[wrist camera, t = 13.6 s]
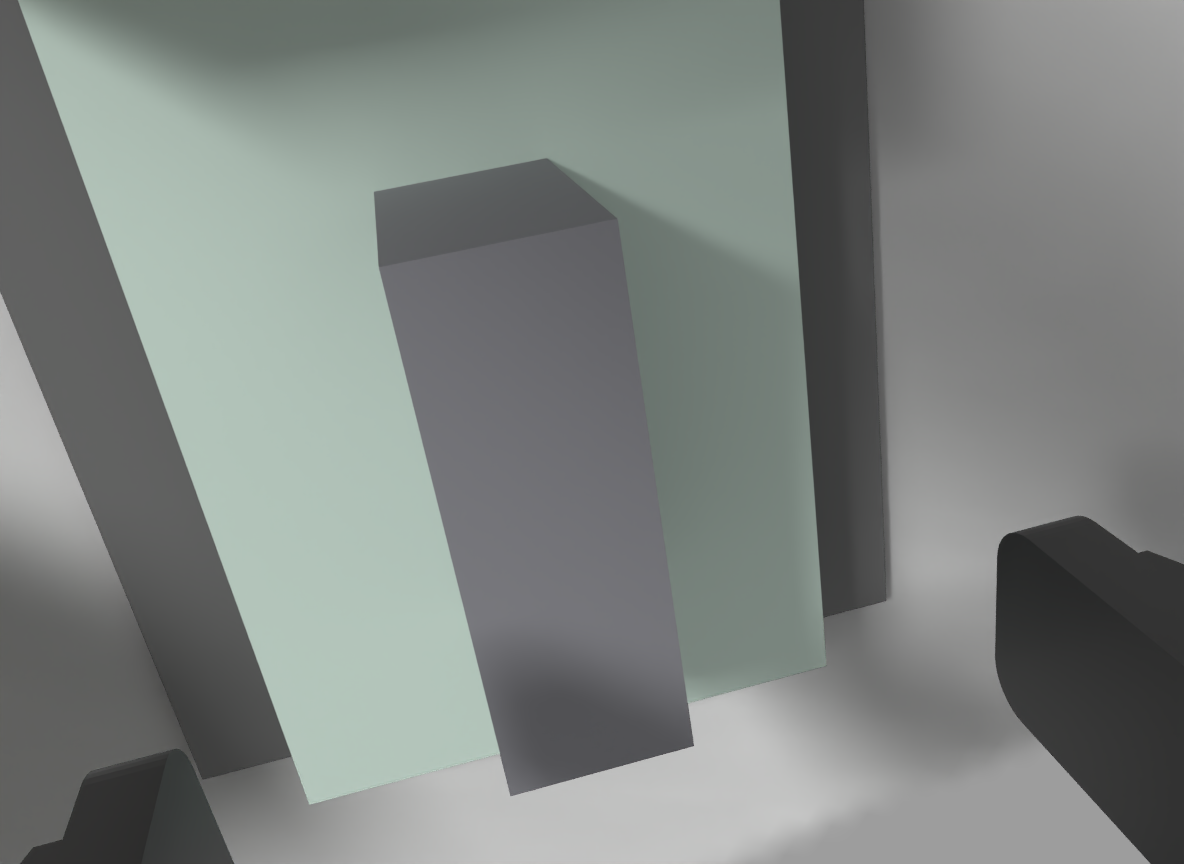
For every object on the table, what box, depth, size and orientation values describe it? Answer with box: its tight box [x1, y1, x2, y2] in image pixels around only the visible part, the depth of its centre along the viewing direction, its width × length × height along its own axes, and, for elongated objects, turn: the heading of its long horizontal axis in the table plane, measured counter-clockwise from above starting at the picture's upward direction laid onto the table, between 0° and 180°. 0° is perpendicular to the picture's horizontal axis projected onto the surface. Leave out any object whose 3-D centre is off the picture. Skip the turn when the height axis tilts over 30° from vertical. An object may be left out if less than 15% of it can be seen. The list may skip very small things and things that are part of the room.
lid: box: [18, 0, 826, 805], centre depth 17 cm, size 15×11×7 cm
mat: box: [0, 0, 886, 779], centre depth 20 cm, size 16×16×1 cm
